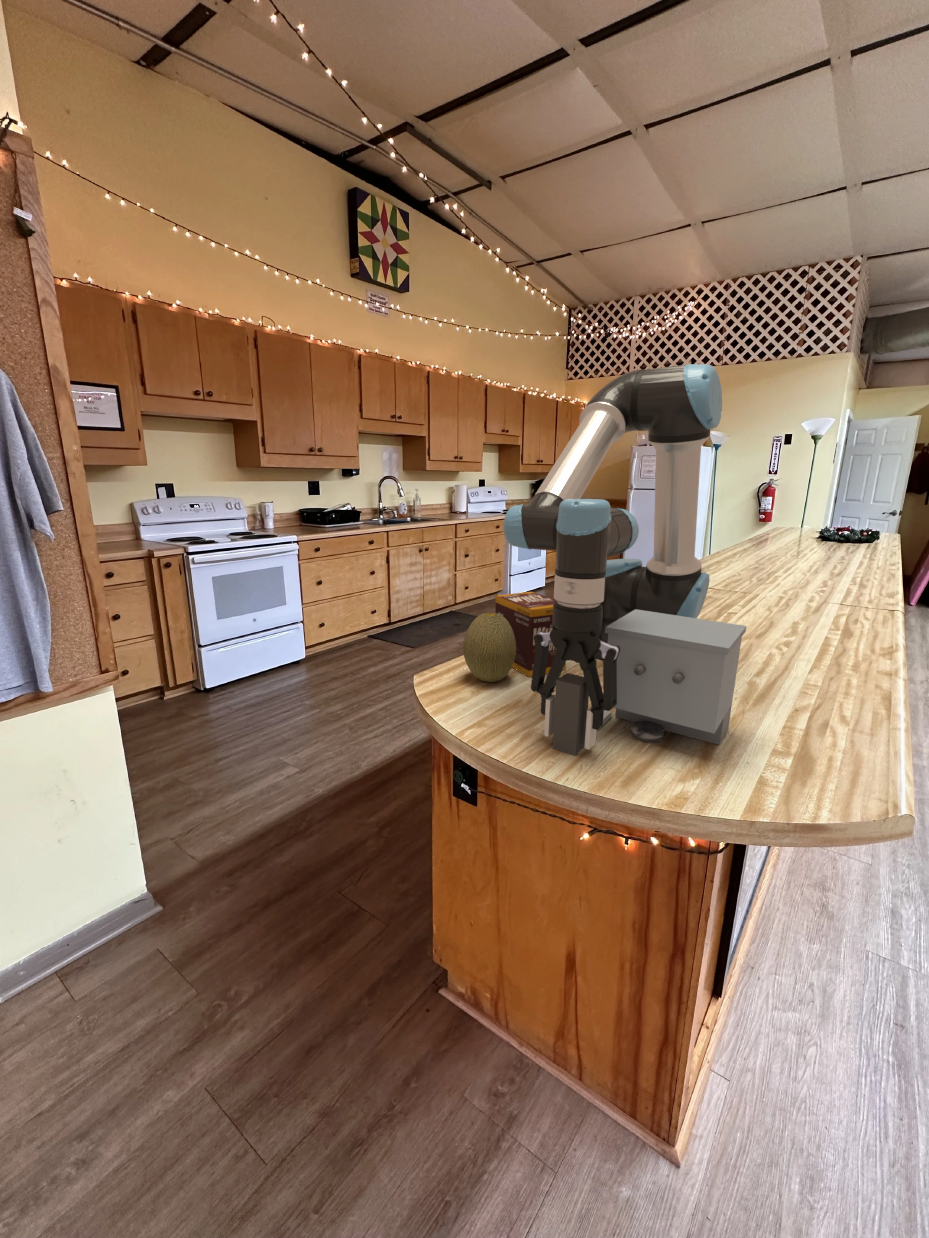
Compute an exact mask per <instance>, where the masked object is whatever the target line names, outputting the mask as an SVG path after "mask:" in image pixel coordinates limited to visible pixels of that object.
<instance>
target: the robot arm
mask: <svg viewBox="0 0 929 1238" xmlns="http://www.w3.org/2000/svg"><path fill="white" fill-rule="evenodd" d="M722 410H723V393H722V383H721V380H720V375H719V373H718V372H717V370H716V369H715V366H713V365H711V364H709V363H708V364H707V363H703V364H702V363H697V364H696V363H693V364H691V363H688V364H682V365H673V366H664V367H656V368H650V369H649V368H647V369H635V370H631V371H628V372H625V373H623V374H622V375H619V376H618V377H617V376H616V378H614V379H613V380H611V381H610V382H609V383H607V384H605V385H604V386H603V387H602V388H600V390H599V391H597V392H596V393H595V394H594V395H593V396H592V397H591V398H590V399H589V401H588V402H587V403H586V405H585V406H584V408H583V410H582V411H581V413H580V415H579V421H578V422H579V425H578V426H577V428H576V430H575V431H574V433H573V434H572V436H571V437H570V439H569V440H568V442H567V444H566V446H564V449H563V450H562V451H561V453H560V455H559V456H558V458H557V460H556V461H555V462H554V464H553V466H552V467H551V469H550V470H549V472H548V474H547V475H546V477H545V478H544V480H543V481H542V483H541V484H540V486H539V488H538V489H537V491H536V492H535V493H534V496H533V497H532V498H531V500H530V502H528V504H524V503H522V504H515V505H513V506H511V507H509V509H508V510H507V511H506V514H505V516H504V519H503V534H504V537H505V539H506V541H507V543H508V544H509V545H511V546H512V547H517V548H522V549H527V550H537V551H538V550H540V551H551V552H555V570H554V587H553V589H554V590H553V599H555V600H556V602H555V603H554V604H553V619H552V624H553V628H552V630H551V632H550V633H546V632H545V631H543V632H541V633H538V634H536V635H535V636H534V642H535V648H536V650H535V658H534V666H533V674H532V677H531V683H530V689H531V691H532V692H534V693H535V692H536V693H538V694H539V696H540V698H541V699H540V702H541V703H540V713H541V715H543V716H544V730H543V731H544V733H543V736H544V737H547V738H549V737H550V736H551V735H553V731H554V713H555V695H556V693H555V692H556V680H557V679H559V678H560V677H561V674H562V672H563V671H564V670H563V668H564V665H565V663H566V664H567V661H573V662H574V663H577V664H579V668H580V670H581V671H582V673H583V677H584V678H585V682H586V686H587V690H588V694H589V702H590V705H591V706H590V708H588V710H587V720H586V734H585V747H584V749H585V750H590V749H591V748H592V747H593V746H594V745H595V744H596V742H597V741H596V740H597V732H598V731H599V730H600V729H602V727H603V726H604V725H603V715H604V710H606V711H611V710H612V709H614V708H613V707H614V706H615V705H616V704H617V658H618V655H619V653H620V647H619V646H618V645H615V646H611V645H609V644H607V643H608V633H605V628H606V626H608V625H610V624H611V623H613V622H615V621H616V620H618V619H620V618H622V617H623V616H625V615H627V614H628V613H630V612H632V611H633V610H635V609H637V610H644V611H650V612H657V613H664V614H670V615H677V616H684V617H690V618H697V619H698V617H699V615H700V614H701V611H702V609H703V607H704V604H705V600H706V597H707V595H708V594H707V593H708V590H709V587H710V574H709V573H707V572H706V571H703V572H702V562H701V560H699V559H698V558H697V557H696V556H695V554H696V540H697V539H696V538H697V536H696V535H697V521H698V505H699V488H700V474H701V473H700V472H701V471H700V469H701V455H702V452H701V451H702V446H703V445H704V444H705V442H706V441H707V440H708V439H709V438H710V437H711V430H713V429H716V428H717V427H718V426H719V424H720V422H721V419H722ZM645 431H646V432H647V433H648V436H647V437H648V439H647V440H648V443H649V444H650V445H651V446H652V447H653V448H654V450H655V475H654V476H655V478H654V481H655V482H654V485H655V486H654V521H653V522H654V524H653V556H652V557H651V559H649V560H648V561H647V562H646V565H645V566H643V562H642V559H640V558H617V559H608V558H609V557H613V556H618V555H621V554H623V553H624V552H626V551H628V550H629V549H631V548H633V546H634V545H635V544H636V541H637V540H638V538H639V533H640V529H639V523H638V520H637V519H636V517H635V516H634V515H633V513H631V512H630V511H629V510H627V509H624V508H619V507H611V505H610V501H608V500H606V499H602V498H600V499H599V498H582V496H583V494H584V493H585V491H586V490H587V488H588V486H589V484H590V482H591V481H592V479H593V478H594V476H595V474H596V473H597V471H598V468H599V467H600V466H601V464H602V462H603V461H604V459H605V457H606V455H607V454H608V452H609V450H610V448H611V446H612V445H613V444H616V442H618V441H620V440H621V439H622V438H623V436H624V434H625V433H630V432H645ZM551 641H552V643H553V645H554V646H555V648H556V650H557V651H556V653H555V656H554V658H553V663H552V666H551V668H550V671H549V673H547V674H546V666H547V659H548V652H549V645H550V643H551ZM597 660H602V662H603V664H602V677H603V678H602V683H603V686H602V685H601V684H602V683H601V680H600V677H599V676H600V675H599V672H598V669H597V668H598V667H597ZM546 675H547V676H546ZM602 688H603V689H602ZM553 693H555V694H553ZM602 725H603V726H602ZM597 730H598V731H597Z"/></svg>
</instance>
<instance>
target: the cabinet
mask: <svg viewBox="0 0 929 1238" xmlns="http://www.w3.org/2000/svg"><path fill="white" fill-rule="evenodd" d="M746 631H747V625H742V624H738V623H730V622H722V621H718V620H717V621H716V620H710V619H709V620H708V619H704V618H703V619H701V618H698V617H697V618H690V617H684V616H677V615H670V614H664V613H657V612H650V611H644V610H637V609H635V610H633V611H632V612H630V613H628V614H627V615H625V616H623V617H622V618H620V619H618V620H616V621H615V622H613V623H611V624H610V625H608V626H606V628H605V633H608V643H607V644H609V645H611V646H615V645H618V646H619V647H620V653H619V655H618V658H617V704H616V705H615V706H614V707H613V708H612V709H615V714H614V717H615V718H618V719H621V720H624V721H628V722H632V723H633V722H636V721H651V722H655V723H657V724H659V725H661V726H662V727H663V728H664V730H665V731H666V732H670V733H673V734H677V735H681V736H684V737H689V738H692V739H696V740H700V741H703V742H707V743H711V744H714V745H717V746H720V745H721V744H722V741H723V740H724V738H725V736H726V734H727V733H728V731H729V727H730V722H731V721H730V720H731V713H732V705H733V701H734V691H735V686H736V681H737V680H736V679H737V673H738V672H737V671H738V666H739V665H738V664H739V659H740V654H741V652H740V651H741V645H742V640H743V639H742V638H743V636H744V635H745V633H746ZM665 731H664V732H665Z"/></svg>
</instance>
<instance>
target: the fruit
mask: <svg viewBox="0 0 929 1238" xmlns="http://www.w3.org/2000/svg"><path fill="white" fill-rule="evenodd" d="M462 647H463V648H462V649H463V650H462V651H463V657H464V660H465V663H466V665H467V668H468V670H470V672H471V674H472V675H474V677H475V678H477V679H479V680H480V681H483V682H487V683H495V682H498V681H501V680H503V679H505V678H506V677H507V675H508V674H510V672H511V670H512V669H513V668H512V665H513V663H514V659H515V654H516V641H515V636H514V633H513V630H512V628H511V626H510V624H509V622H508V621H507V620H506V619H505V618H504V617H503V616H502V615H500V614H497V613H495V612H485V613H482V614H480V615H478V616H477V617H475V619H473V621H472V622H471V623H470V625H469V626H468V628H467V631H466V633H465V635H464V639H463V645H462Z"/></svg>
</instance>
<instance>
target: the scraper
mask: <svg viewBox="0 0 929 1238" xmlns="http://www.w3.org/2000/svg"><path fill="white" fill-rule="evenodd" d="M589 702H590V697H589V694H588V690H587V686H586V682H585V678H584V675H579V674H574V673H571V672H566V673H565V674H563V675H562V676H560V677H559V679H557V680H556V686H555V713H554V731H553V733H552V749H553V750H556V751H559V752H561V753H565V754H568V755H572V756H574V757H575V756H577V755H578V754H579V753H580V752H581V751H582V750H583V749H585V734H586V720H587V710H588V709H589ZM612 716H613V711H611V710H610V711H606V710H604V715H603V725H602V727H604V725H606V723H608V722H609V721H610V720H611V719H612ZM598 731H599V730H597V732H598Z"/></svg>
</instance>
